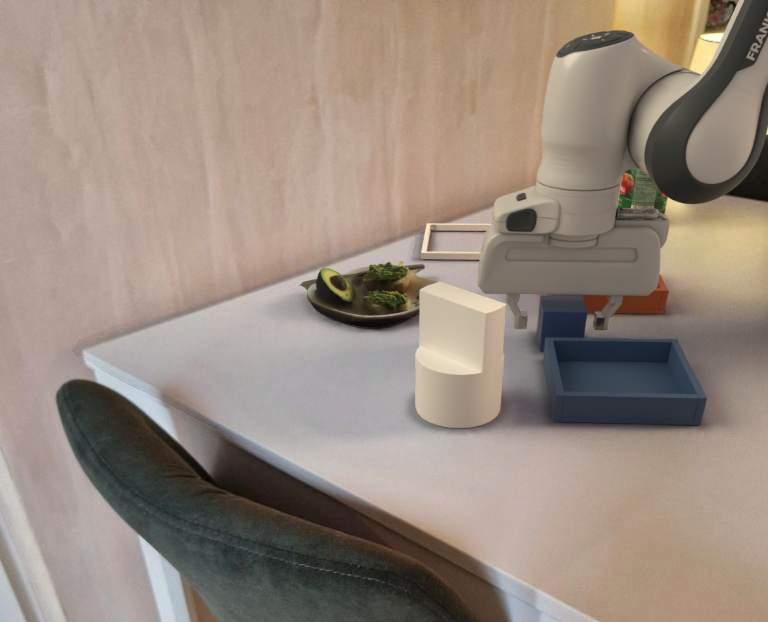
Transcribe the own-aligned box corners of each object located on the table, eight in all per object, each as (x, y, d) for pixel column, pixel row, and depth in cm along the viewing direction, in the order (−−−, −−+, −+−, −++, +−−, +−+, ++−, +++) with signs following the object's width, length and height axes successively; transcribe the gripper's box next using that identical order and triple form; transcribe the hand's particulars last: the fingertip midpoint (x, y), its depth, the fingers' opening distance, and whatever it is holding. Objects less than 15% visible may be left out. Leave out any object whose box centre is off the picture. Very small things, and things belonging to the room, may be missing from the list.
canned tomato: (607, 215, 132) (617, 146, 125) (650, 211, 133) (662, 143, 126) (627, 229, 126) (639, 157, 119) (671, 225, 127) (686, 154, 120)
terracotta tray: (645, 275, 109) (649, 254, 107) (664, 313, 98) (669, 290, 96) (541, 275, 110) (544, 253, 108) (549, 312, 100) (552, 289, 98)
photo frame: (541, 252, 114) (421, 251, 116) (540, 260, 115) (421, 258, 116) (535, 222, 126) (426, 222, 127) (535, 229, 126) (426, 229, 128)
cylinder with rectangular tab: (517, 405, 80) (528, 295, 73) (461, 438, 76) (466, 324, 68) (454, 378, 86) (457, 273, 78) (397, 407, 81) (395, 298, 74)
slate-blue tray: (671, 364, 87) (677, 338, 85) (700, 425, 76) (707, 398, 74) (542, 361, 88) (545, 337, 86) (552, 422, 78) (556, 395, 76)
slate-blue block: (577, 334, 94) (582, 295, 91) (581, 352, 90) (587, 312, 87) (536, 333, 94) (540, 295, 91) (539, 351, 90) (543, 311, 87)
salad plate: (383, 264, 115) (382, 233, 113) (475, 293, 105) (477, 260, 102) (284, 301, 105) (281, 268, 102) (376, 338, 95) (375, 302, 92)
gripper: (666, 200, 84) (643, 318, 93) (481, 199, 86) (474, 316, 94) (679, 217, 79) (653, 340, 88) (481, 216, 81) (475, 337, 89)
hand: (559, 328), depth 91 cm, fingers open, 8 cm apart
